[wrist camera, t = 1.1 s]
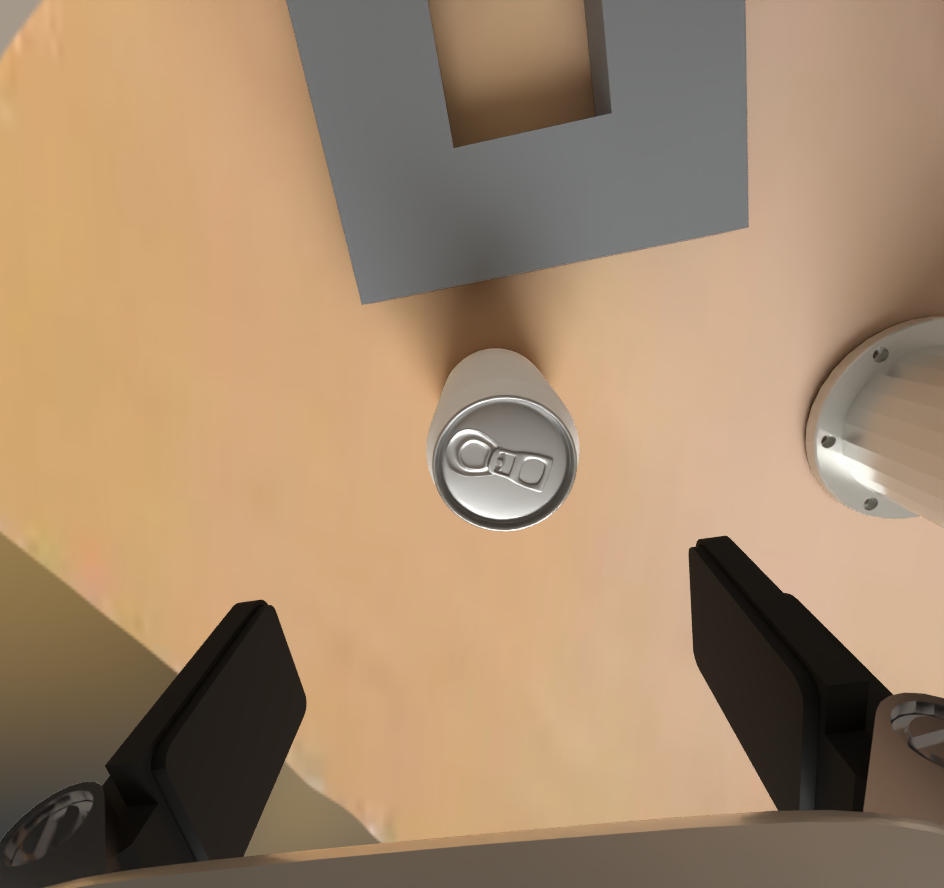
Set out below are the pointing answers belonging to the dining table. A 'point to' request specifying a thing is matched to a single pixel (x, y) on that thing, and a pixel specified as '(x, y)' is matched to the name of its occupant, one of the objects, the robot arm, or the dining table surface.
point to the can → (501, 443)
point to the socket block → (526, 145)
